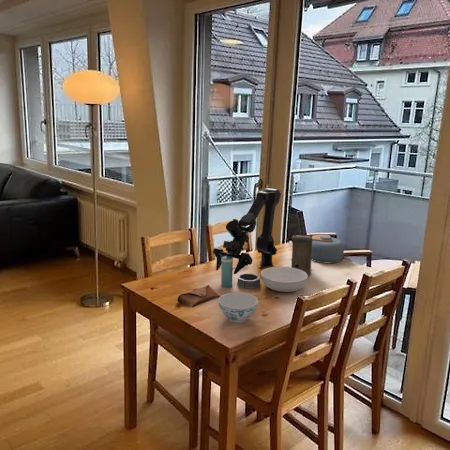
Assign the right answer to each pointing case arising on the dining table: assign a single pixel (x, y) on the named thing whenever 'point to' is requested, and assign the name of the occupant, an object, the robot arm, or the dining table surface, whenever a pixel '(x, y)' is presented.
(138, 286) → the dining table surface
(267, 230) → the robot arm
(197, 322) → the dining table surface
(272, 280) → the serving bowl
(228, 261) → the teal peg
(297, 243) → the vintage camera
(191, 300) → the sunglasses case
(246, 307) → the chinaware
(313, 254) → the grey squat cylinder
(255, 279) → the socket ring
